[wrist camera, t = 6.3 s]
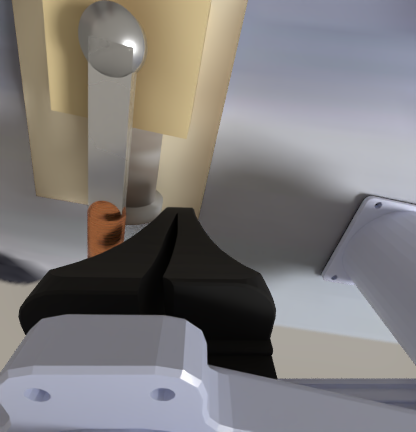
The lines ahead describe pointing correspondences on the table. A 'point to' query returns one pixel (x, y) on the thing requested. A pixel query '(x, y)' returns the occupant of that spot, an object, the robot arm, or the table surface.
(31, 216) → the table surface
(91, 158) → the valve lever
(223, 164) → the table surface
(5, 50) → the table surface
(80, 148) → the valve stand
